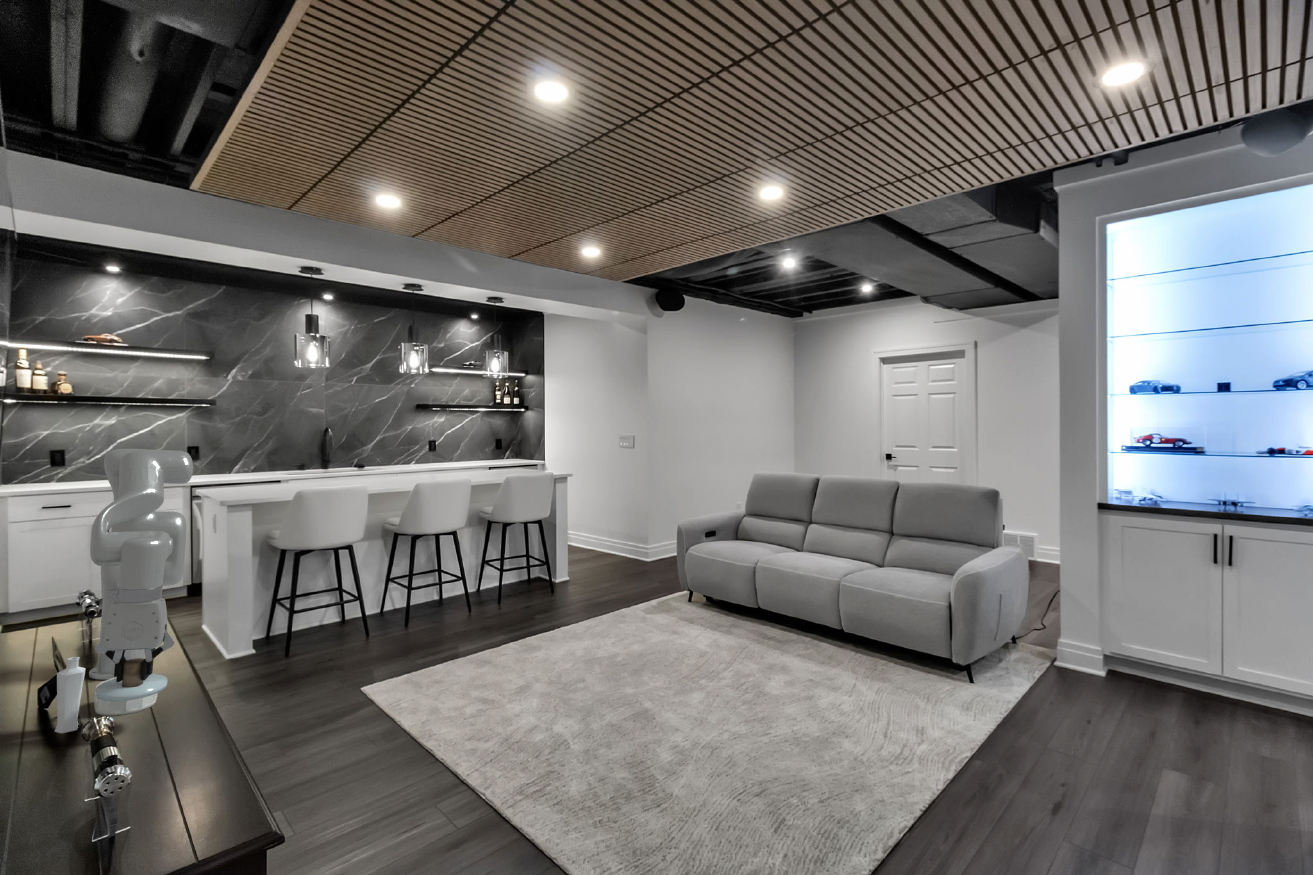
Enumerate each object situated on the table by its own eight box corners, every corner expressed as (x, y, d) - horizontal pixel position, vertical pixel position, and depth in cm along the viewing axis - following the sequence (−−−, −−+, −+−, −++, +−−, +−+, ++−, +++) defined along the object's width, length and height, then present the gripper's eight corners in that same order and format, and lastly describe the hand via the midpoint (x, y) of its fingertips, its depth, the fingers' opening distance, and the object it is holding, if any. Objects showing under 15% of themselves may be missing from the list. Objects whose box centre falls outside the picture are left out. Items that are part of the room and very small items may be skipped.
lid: (108, 681, 140) (111, 653, 140) (174, 677, 145) (176, 650, 145) (84, 703, 129) (87, 673, 129) (156, 698, 134) (159, 669, 134)
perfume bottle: (87, 726, 137) (93, 657, 137) (62, 735, 132) (68, 662, 133) (73, 722, 138) (79, 653, 139) (49, 730, 134) (55, 659, 134)
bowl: (106, 699, 151) (107, 676, 151) (162, 695, 155) (164, 672, 155) (86, 718, 141) (88, 693, 141) (147, 712, 145) (149, 688, 145)
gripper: (83, 599, 131) (76, 688, 130) (181, 597, 137) (174, 682, 137) (98, 591, 137) (91, 675, 137) (191, 589, 144) (184, 670, 144)
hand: (133, 678), depth 137 cm, fingers closed on lid, 3 cm apart
